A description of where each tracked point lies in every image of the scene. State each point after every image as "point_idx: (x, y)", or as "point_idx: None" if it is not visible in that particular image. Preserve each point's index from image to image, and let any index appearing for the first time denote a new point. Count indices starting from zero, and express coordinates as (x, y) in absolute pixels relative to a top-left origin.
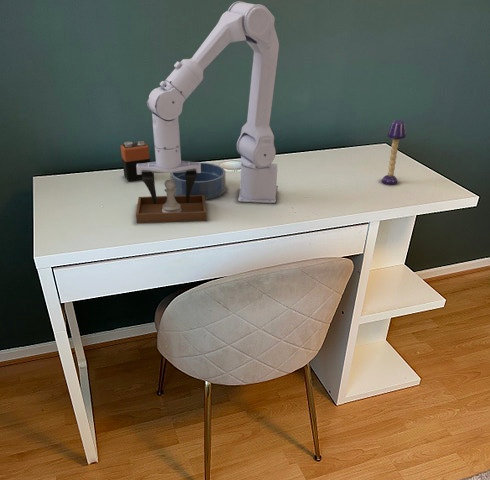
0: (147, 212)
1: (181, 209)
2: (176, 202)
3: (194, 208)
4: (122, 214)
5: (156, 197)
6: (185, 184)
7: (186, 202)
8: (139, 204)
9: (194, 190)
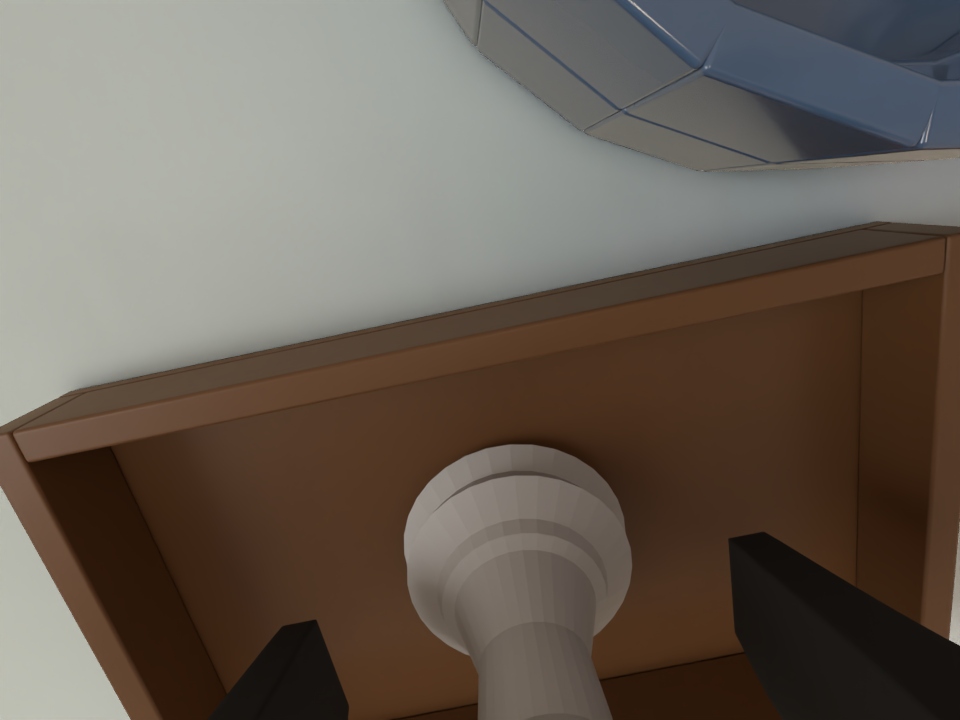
0: (260, 598)
1: (623, 525)
2: (595, 604)
3: (761, 444)
4: (14, 622)
5: (303, 650)
6: (755, 117)
7: (740, 634)
8: (121, 657)
9: (864, 161)
